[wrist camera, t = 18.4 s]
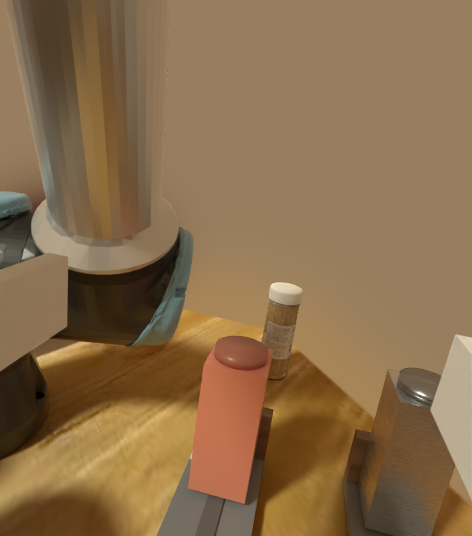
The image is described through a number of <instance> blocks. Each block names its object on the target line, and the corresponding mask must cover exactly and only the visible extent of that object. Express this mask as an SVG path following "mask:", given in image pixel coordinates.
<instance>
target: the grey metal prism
mask: <svg viewBox="0 0 472 536" xmlns="http://www.w3.org/2000/svg"><path fill="white" fill-rule="evenodd" d="M440 379H441V376H440V375H438V374H436V373H433V372H430V371H427V370H423V369H419V368H405V369H402V370H401V371H400V372H398V371H393V370H388V372H387V375H386V379H385V383H384V387H383V390H382V394H381V398H380V401H379V405H378V409H377V413H376V416H375V420H374V424H373V428H372V431H371V435H370V439H369V443H368V446H367V450H366V454H365V457H364V461H363V465H362V469H361V472H360V476H359V480H358V485H359V492H360V499H361V506H362V513H363V520H364V527H365V528H368V529H372V530H376V531H379V532H383V533H387V534H390V535H394V536H431V534H432V531H433V529H434V526H435V523H436V520H437V517H438V514H439V511H440V508H441V505H442V502H443V499H444V496H445V494H446V491H447V488H448V485H449V482H450V479H451V476H452V473H453V470H454V467H455V463H454V461H453V459H452V456H451V454H450V452H449V450H448V448H447V445H446V443H445V441H444V439H443V437H442V435H441V432H440V430H439V428H438V426H437V424H436V421H435V419H434V417H433V415H432V413H431V410H430V409H431V406H432V403H433V400H434V397H435V394H436V391H437V388H438V385H439V382H440Z"/></svg>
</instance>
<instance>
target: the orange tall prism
mask: <svg viewBox="0 0 472 536" xmlns="http://www.w3.org/2000/svg"><path fill="white" fill-rule="evenodd" d="M272 354H273V350H272V349H267V347H266V346H265V345H264V344H262V343H261V342H259V341H257V340H255V339H252V338H248V337H243V336H227V337H223V338H221V339H220V338H218V340H217V342H216V343H215V345H214V347H213V349H212V350H211V352H210V354H209V356H208V358H207V359H206V361H205V363H204V366H203V374H202V381H201V389H200V397H199V405H198V413H197V421H196V429H195V436H194V444H193V452H192V460H191V468H190V476H189V484H188V489H192V490H195V491H199V492H202V493H206V494H210V495H213V496H217V497H221V498H224V499H228V500H232V501H235V502H239V503H243V504H245V500H246V495H247V490H248V485H249V480H250V476H251V471H252V466H253V461H254V455H255V450H256V444H257V438H258V433H259V427H260V421H261V416H262V410H263V405H264V399H265V393H266V388H267V382H268V376H269V371H270V365H271V360H272Z"/></svg>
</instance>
